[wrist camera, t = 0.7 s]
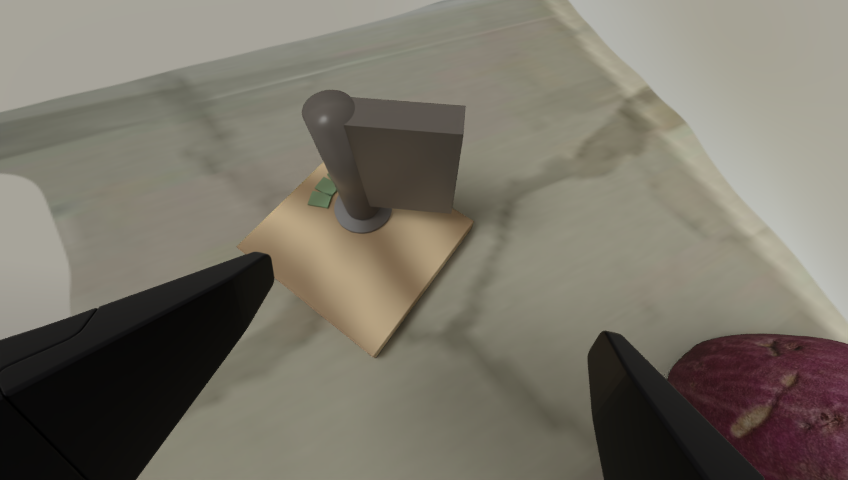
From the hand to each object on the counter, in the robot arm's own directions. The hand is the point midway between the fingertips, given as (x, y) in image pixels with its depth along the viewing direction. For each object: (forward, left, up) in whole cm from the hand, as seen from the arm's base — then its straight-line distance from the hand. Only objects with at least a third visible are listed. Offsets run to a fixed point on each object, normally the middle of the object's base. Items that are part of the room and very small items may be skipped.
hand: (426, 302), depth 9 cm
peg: (+8, +8, -13) cm, 18 cm away
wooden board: (+4, +9, -15) cm, 18 cm away
